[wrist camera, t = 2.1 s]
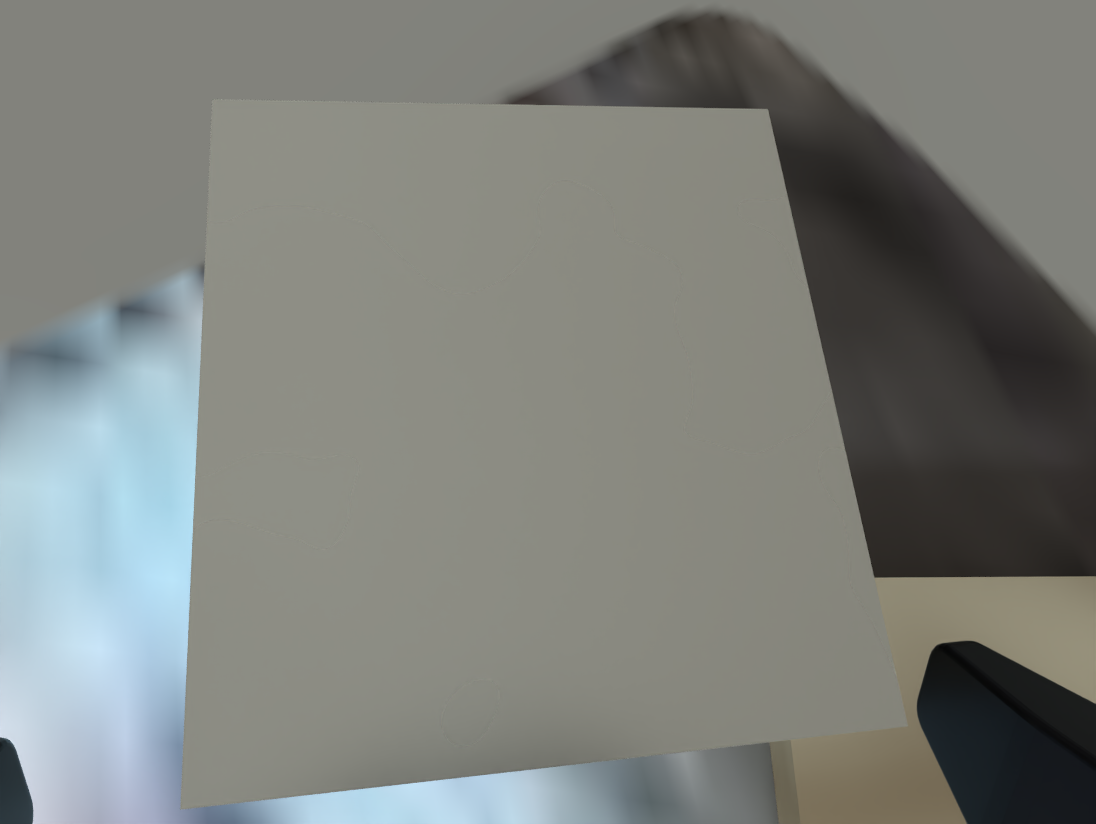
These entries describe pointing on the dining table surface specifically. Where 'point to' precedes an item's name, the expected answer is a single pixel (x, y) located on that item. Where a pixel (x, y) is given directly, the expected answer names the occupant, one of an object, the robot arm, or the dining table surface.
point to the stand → (913, 631)
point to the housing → (511, 451)
